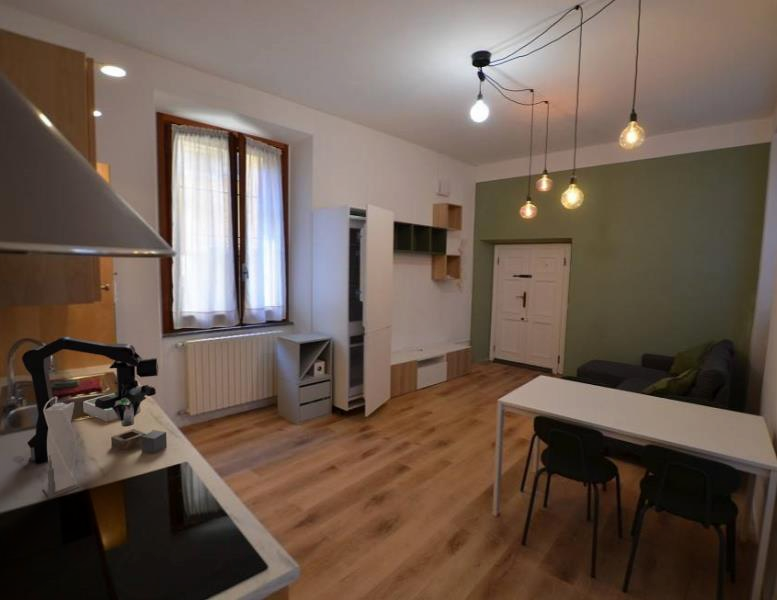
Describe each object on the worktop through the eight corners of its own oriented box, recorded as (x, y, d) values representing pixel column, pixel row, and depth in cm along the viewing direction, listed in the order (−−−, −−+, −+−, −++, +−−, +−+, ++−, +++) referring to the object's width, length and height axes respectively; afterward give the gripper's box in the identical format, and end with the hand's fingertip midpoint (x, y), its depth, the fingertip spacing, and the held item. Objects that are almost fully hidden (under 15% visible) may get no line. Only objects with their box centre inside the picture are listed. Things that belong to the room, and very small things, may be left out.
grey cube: (154, 454, 141) (154, 438, 140) (141, 452, 142) (141, 436, 141) (166, 447, 146) (166, 432, 146) (154, 445, 148) (153, 430, 147)
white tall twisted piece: (42, 487, 119) (36, 399, 116) (74, 476, 126) (69, 392, 123) (49, 498, 114) (43, 406, 111) (83, 485, 121) (78, 399, 118)
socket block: (123, 452, 141) (123, 442, 141) (111, 447, 145) (111, 436, 144) (146, 443, 148) (145, 433, 148) (133, 438, 152) (133, 428, 152)
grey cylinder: (125, 427, 143) (124, 406, 142) (119, 425, 145) (118, 404, 144) (136, 423, 146) (135, 403, 146) (130, 421, 148) (129, 401, 147)
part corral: (107, 421, 166) (106, 410, 166) (83, 412, 175) (82, 401, 175) (140, 411, 178) (140, 400, 178) (116, 402, 188) (116, 392, 187)
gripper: (110, 389, 132) (112, 433, 133) (163, 375, 148) (165, 414, 150) (93, 383, 137) (95, 425, 139) (146, 371, 153) (147, 408, 155)
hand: (127, 418), depth 145 cm, fingers closed on grey cylinder, 4 cm apart
